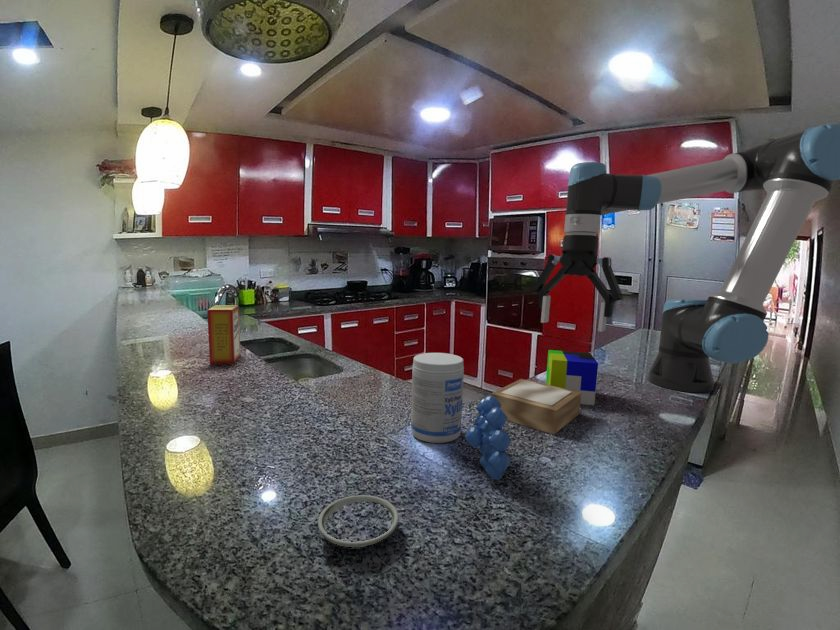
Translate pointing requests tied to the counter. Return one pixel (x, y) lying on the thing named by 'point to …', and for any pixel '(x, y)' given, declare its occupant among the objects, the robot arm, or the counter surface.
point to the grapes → (490, 437)
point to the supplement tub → (437, 397)
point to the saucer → (349, 500)
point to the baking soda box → (223, 333)
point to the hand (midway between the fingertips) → (571, 326)
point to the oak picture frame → (538, 405)
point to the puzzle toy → (573, 373)
